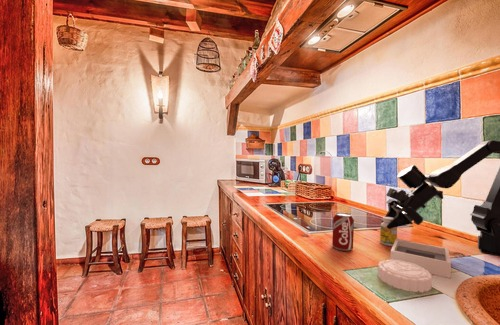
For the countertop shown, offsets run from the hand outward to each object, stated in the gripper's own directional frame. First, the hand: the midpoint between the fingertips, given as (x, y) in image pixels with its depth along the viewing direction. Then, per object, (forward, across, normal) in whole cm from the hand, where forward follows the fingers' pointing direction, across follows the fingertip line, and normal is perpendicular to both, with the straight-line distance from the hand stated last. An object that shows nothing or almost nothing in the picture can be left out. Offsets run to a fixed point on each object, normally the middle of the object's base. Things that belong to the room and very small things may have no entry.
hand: (384, 225), depth 92 cm
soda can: (+16, +9, -7) cm, 20 cm away
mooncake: (+8, +29, +2) cm, 30 cm away
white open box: (+1, +16, +8) cm, 18 cm away
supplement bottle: (+4, 0, +6) cm, 7 cm away
